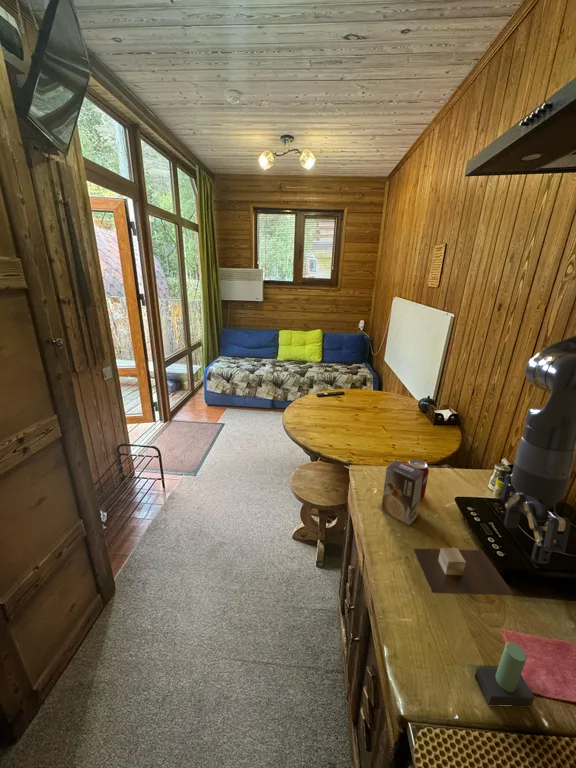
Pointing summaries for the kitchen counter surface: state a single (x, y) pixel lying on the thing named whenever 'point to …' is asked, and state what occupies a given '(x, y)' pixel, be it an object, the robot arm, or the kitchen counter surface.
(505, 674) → the green post on base
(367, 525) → the kitchen counter surface
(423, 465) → the soda can
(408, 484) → the coffee box
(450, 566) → the beige cube
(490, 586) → the board
